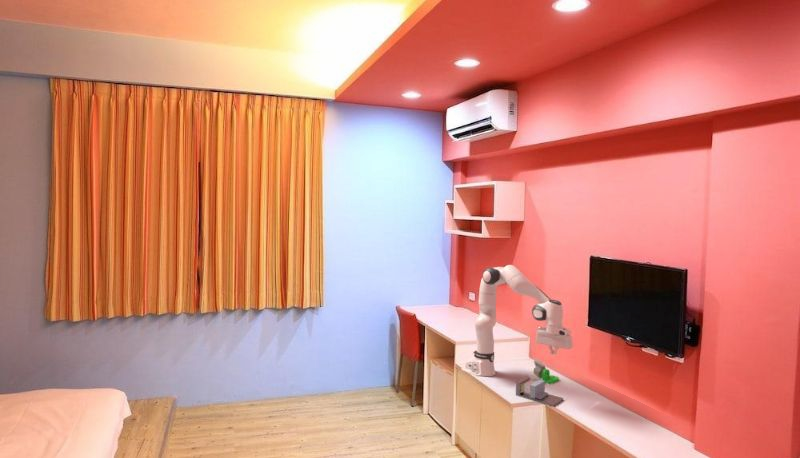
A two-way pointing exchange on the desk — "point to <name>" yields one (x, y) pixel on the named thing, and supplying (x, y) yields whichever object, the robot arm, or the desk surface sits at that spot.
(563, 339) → the robot arm
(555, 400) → the vise base
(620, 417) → the desk surface
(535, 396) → the free jaw
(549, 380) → the mechanical part
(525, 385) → the steel block
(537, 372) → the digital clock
